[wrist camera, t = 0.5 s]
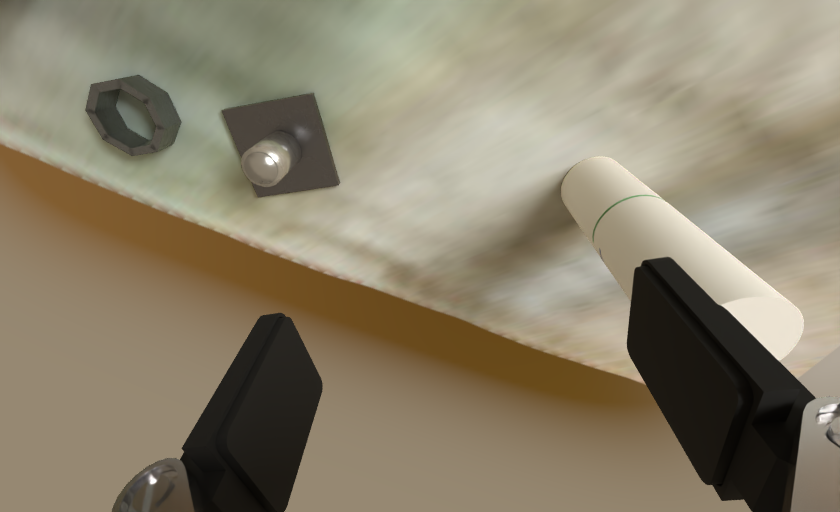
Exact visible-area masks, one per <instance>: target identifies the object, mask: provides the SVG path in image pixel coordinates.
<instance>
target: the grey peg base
mask: <svg viewBox="0 0 840 512" xmlns="http://www.w3.org/2000/svg"><path fill="white" fill-rule="evenodd" d="M222 113H223V115H224V118H225V120H226V122H227V125H228V127H229V130H230V132H231V134H232V137H233V139H234V141H235V144H236V146H237V149H238V151H239V153H240V156H241V158H242V159H241V166H242V170H243V172H244V174H245V175H246V177H247V178H248V179H249V180H250V181H251V182H252V184H253V187H254V189H255V191H256V194H257V196H258V197H263V196H270V195H277V194H283V193H290V192H297V191H303V190H310V189H316V188H323V187H330V186H336V185H339V184H340V181H339V177H338V174H337V171H336V167H335V164H334V160H333V157H332V154H331V150H330V147H329V143H328V140H327V137H326V133H325V130H324V126H323V123H322V119H321V116H320V113H319V109H318V106H317V102H316V99H315V96H314V93H310V94H304V95H299V96H293V97H288V98H282V99H277V100H271V101H266V102H260V103H255V104H249V105H244V106H238V107H232V108H227V109H224V110H222Z"/></svg>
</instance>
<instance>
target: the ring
mask: <svg viewBox="0 0 840 512" xmlns="http://www.w3.org/2000/svg"><path fill="white" fill-rule="evenodd" d="M120 89H122V90H124V91H125V92H127V93H129V94H130V95H132V96H133V97H135V98H137V99H138V100H140V101H142V102H143V103H144V104H145V106H146V108H147V110H148V111H149V113H150V115H151V117H152V119H153V121H154V123H155V125H156V129H155V132H154V135H153V138H152V140H147V139H145V138H144V137H142V136H140V135H138V134H137V133H135V132H133V131H132V130H130V129H128V128H127V126H126V125H125V123H124V121H123V119H122V117H121V116H120V114H119V112H118V110H117V108H116V107H115V106H116V102H117V98H118V94H119V90H120ZM86 112H87V114H88V115H89V117H90V119H91V120H92V122H93V124H94V125H95V127H96V129H97V130H98V132H99V134H100V135H101V137H102V139H103V140H105V141H106V142H108V143H110V144H112V145H113V146H115V147H117V148H119V149H121V150H122V151H124V152H126V153H128V154H129V155H131V156H135V155H141V154H147V153H153V152H158V151H160V150H162V149H164V148H166V147H168V146H170V145H172V144H174V141H175V138H176V136H177V133H178V130H179V127H180V124H181V120H180V118H179V116H178V114H177V112H176V109H175V107H174V105H173V103H172V101H171V99H170V97H169V95H168V93H167V92H165V91H164V90H162V89H160V88H159V87H157V86H156V85H154V84H152V83H151V82H149V81H148V80H146V79H144V78H143V77H141V76H140V75H136V76H131V77H126V78H120V79H115V80H110V81H105V82H100V83H95V84H91V87H90V92H89V96H88V101H87V105H86Z"/></svg>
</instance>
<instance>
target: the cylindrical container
mask: <svg viewBox="0 0 840 512" xmlns="http://www.w3.org/2000/svg"><path fill="white" fill-rule="evenodd" d="M561 198H562V201H563V203H564V205H565V206H566V207H567V209H568V210H569V212H570V213H571V215H572V216H573V218H574V219H575V221H576V222H577V224H578V225H579V226H580V228H581V229H582V231H583V232H584V234H585V235H586V237H587V238H588V240H589V241H590V243H591V244H592V245H593V247H594V248H595V250H596V251H597V253H598V254H599V256H600V257H601V259H602V260H603V262H604V263H605V265H606V266H607V267H608V269H609V270H610V272H611V273H612V275H613V276H614V278H615V279H616V281H617V282H618V284H619V285H620V286H621V288H622V289H623V291H624V292H625V294H626V295H627V297H628V298H629V300H630V301H631V297H632V287H633V277H634V270H635V268H636V267H640V266H641V263H642V261H644V260H648V259H655V258H662V257H671V258H672V259H673V260H674V261H675V262H676V263H677V264H678V265H679V266H680V267H681V268H682V269H683V270H684V271H685V272H686V273H687V274H688V275H689V276H690V277H691V278H692V279H693V280H694V281H695V282H696V283H697V284H698V285H699V286H700V287H701V288H702V289H703V290H704V291H705V292H706V293H707V294H708V295H709V296H710V297H711V298H712V299H713V300H714V301H715V302H716V303H717V304H718V305H721V306H723V307H724V308H725V309H727V310H728V311H729V312H730V313H731V314H732V315H733V316H734V317H735V318H736V319H737V320H738V321H739V322H740V323H741V324H742V325H743V326H744V327H745V328H746V329H747V330H748V331H749V332H750V333H751V334H752V335H753V336H754V337H755V338H756V339H757V340H758V341H759V342H760V343H761V344H762V345H763V346H764V347H765V348H766V349H767V350H768V351H769V352H770V353H771V354H772V355H773V356H774V357H775V358H776V359H777V360H778V361H780V360H781V359H782V358H784V357H785V356H786V355H787V354H788V353H789V352H790V351H791V350H792V349H793V348H794V347H795V345H796V344H797V342H798V341H799V340H800V337H801V335H802V332H803V328H804V320H803V315H802V314H801V312H800V310H799V309H798V308H797V307H796V306H794V305H793V304H792V303H791V302H790V301H788V300H787V299H786V298H785V297H783V296H782V295H781V294H780V293H778V292H777V291H776V290H775V289H773V288H772V287H771V286H770V285H769V284H767V283H766V282H765V281H764V280H762V279H761V278H760V277H759V276H757V275H756V274H755V273H754V272H752V271H751V270H750V269H749V268H748V267H746V266H745V265H744V264H743V263H741V262H740V261H739V260H738V259H736V258H735V257H734V256H733V255H731V254H730V253H729V252H728V251H727V250H725V249H724V248H723V247H722V246H720V245H719V244H718V243H717V242H715V241H714V240H713V239H712V238H710V237H709V236H708V235H707V234H706V233H704V232H703V231H702V230H701V229H699V228H698V227H697V226H696V225H694V224H693V223H692V222H691V221H689V220H688V219H687V218H686V217H685V216H683V215H682V214H681V213H680V212H678V211H677V210H676V209H675V208H673V207H672V206H671V205H670V204H668V203H667V202H666V201H665V200H663V199H662V198H661V197H660V196H658V195H657V194H656V193H655V192H653V191H652V190H651V189H650V188H648V187H647V186H646V185H645V184H643V183H642V182H641V181H640V180H638V179H637V178H636V177H635V176H633V175H632V174H631V173H630V172H629V171H627V170H626V169H625V168H624V167H622V166H621V165H620V164H619V163H617V162H616V161H615V160H613V159H611V158H608V157H591V158H588V159H585V160H583V161H581V162H579V163H578V164H576V165H575V166H574V167H572V169H571V170H570V171H569V172H568V173H567V175H566V176H565V178H564V180H563V182H562V186H561Z"/></svg>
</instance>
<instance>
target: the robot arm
mask: <svg viewBox="0 0 840 512" xmlns="http://www.w3.org/2000/svg"><path fill="white" fill-rule="evenodd" d="M627 349H628V353H629V355H630V357H631V359H632V361H633V363H634V364H635V366H636V368H637V370H638V371H639V373H640V375H641V377H642V378H643V380H644V382H645V383H646V385H647V387H648V389H649V390H650V392H651V394H652V396H653V397H654V399H655V401H656V402H657V404H658V406H659V408H660V409H661V411H662V413H663V415H664V416H665V418H666V420H667V422H668V423H669V425H670V427H671V428H672V430H673V432H674V433H675V435H676V437H677V439H678V441H679V442H680V444H681V446H682V448H683V449H684V451H685V453H686V454H687V456H688V458H689V459H690V461H691V463H692V465H693V466H694V468H695V470H696V472H697V473H698V475H699V477H700V478H701V480H702V481H703V482H704V483H705V484H707V485H713V487H714V488H715V490H716V492H717V494H718V495H719V497H720V499H721V500H722V501H727V500H741V499H744V500H745V502H746V503H747V505H748V506H749V508H750V509H751V511H752V512H840V397H832V396H828V397H822V398H815V397H814V396H813V395H812V394H811V393H810V392H809V391H808V390H807V389H806V388H805V387H804V386H803V385H802V384H801V383H800V382H799V381H798V380H797V379H796V378H795V377H794V376H793V375H792V374H791V373H790V372H789V371H788V370H787V369H786V368H785V367H784V366H783V365H782V364H781V363H780V362H779V361H778V360H777V359H776V358H775V357H774V356H773V355H772V354H771V353H770V352H769V351H768V350H767V349H766V348H765V347H764V346H763V345H762V344H761V343H760V342H759V341H758V340H757V339H756V338H755V337H754V336H753V335H752V334H751V333H750V332H749V331H748V330H747V329H746V328H745V327H744V326H743V325H742V324H741V323H740V322H739V321H738V320H737V319H736V318H735V317H734V316H733V315H732V314H731V313H730V312H729V311H728V310H727V309H725V308H724V307H723V306H721V305H718V304H717V303H716V302H715V301H714V300H713V299H712V298H711V297H710V296H709V295H708V294H707V293H706V292H705V291H704V290H703V289H702V288H701V287H700V286H699V285H698V284H697V283H696V282H695V281H694V280H693V279H692V278H691V277H690V276H689V275H688V274H687V273H686V272H685V271H684V270H683V269H682V268H681V267H680V266H679V265H678V264H677V263H676V262H675V261H674V260H673V259H672V258H671V257H662V258H655V259H648V260H644V261H642V263H641V266H640V267H636V268H635V270H634V277H633V287H632V297H631V307H630V317H629V327H628V337H627ZM321 393H322V380H321V378H320V376H319V374H318V372H317V370H316V368H315V365H314V364H313V362H312V359H311V358H310V355H309V353H308V352H307V350H306V347H305V346H304V343H303V341H302V339H301V338H300V335H299V333H298V331H297V329H296V328H295V326H294V323H293V321H292V319H291V318H290V317H286V316H285V315H284V314H282V313H276V314H269V315H263V316H261V317H260V318H259V319H258V320H257V322H256V324H255V325H254V327H253V329H252V330H251V332H250V334H249V336H248V337H247V339H246V341H245V342H244V344H243V346H242V347H241V349H240V351H239V352H238V354H237V356H236V357H235V359H234V361H233V363H232V364H231V366H230V368H229V369H228V371H227V373H226V374H225V376H224V378H223V379H222V381H221V383H220V384H219V386H218V388H217V389H216V391H215V393H214V395H213V396H212V398H211V400H210V401H209V403H208V405H207V407H206V408H205V410H204V412H203V413H202V415H201V417H200V418H199V420H198V422H197V423H196V425H195V427H194V429H193V430H192V432H191V433H190V435H189V437H188V438H187V440H186V442H185V444H184V445H183V447H182V449H183V451H184V453H183V455H182V457H181V459H180V460H178V459H176V458H167V459H163V460H160V461H157V462H155V463H153V464H151V465H149V466H148V467H146V468H145V469H143V470H142V471H141V472H139V473H138V474H137V475H136V476H135V477H134V478H133V479H132V480H131V481H130V482H129V483H128V484H127V485H126V486H125V487H124V489H123V490H122V491H121V493H120V494H119V496H118V497H117V499H116V502H115V503H114V506H113V509H112V512H284V511H285V510H286V507H287V505H288V501H289V498H290V495H291V492H292V488H293V485H294V482H295V479H296V475H297V472H298V469H299V466H300V462H301V459H302V455H303V452H304V449H305V446H306V443H307V439H308V436H309V433H310V430H311V426H312V423H313V420H314V416H315V413H316V410H317V406H318V403H319V400H320V397H321Z"/></svg>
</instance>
